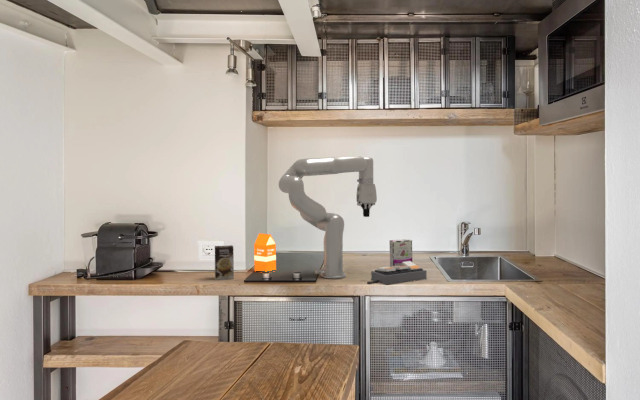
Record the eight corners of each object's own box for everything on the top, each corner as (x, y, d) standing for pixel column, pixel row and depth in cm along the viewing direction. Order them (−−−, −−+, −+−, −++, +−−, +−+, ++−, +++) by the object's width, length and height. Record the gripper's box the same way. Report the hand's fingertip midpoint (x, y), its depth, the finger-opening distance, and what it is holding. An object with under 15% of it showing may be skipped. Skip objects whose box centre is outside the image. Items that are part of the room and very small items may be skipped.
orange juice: (266, 273, 233) (265, 235, 232) (254, 271, 238) (253, 234, 237) (276, 270, 239) (275, 233, 238) (264, 268, 244) (263, 232, 243)
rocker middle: (399, 269, 211) (399, 266, 211) (389, 269, 218) (389, 266, 218) (408, 268, 213) (408, 265, 213) (398, 268, 220) (397, 265, 220)
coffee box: (215, 280, 218) (214, 247, 217) (214, 277, 224) (214, 245, 223) (234, 279, 220) (233, 246, 220) (233, 276, 227) (232, 244, 226)
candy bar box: (408, 269, 239) (408, 238, 238) (412, 271, 234) (412, 240, 233) (389, 270, 236) (389, 239, 235) (393, 272, 231) (393, 241, 230)
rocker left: (387, 271, 207) (386, 268, 207) (377, 270, 214) (376, 267, 214) (395, 270, 209) (395, 267, 209) (385, 269, 216) (385, 266, 217)
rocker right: (412, 271, 214) (412, 268, 214) (402, 264, 221) (402, 261, 221) (420, 270, 217) (420, 267, 216) (410, 263, 223) (410, 260, 223)
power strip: (374, 286, 202) (374, 276, 201) (360, 281, 212) (359, 271, 212) (426, 278, 216) (426, 269, 216) (410, 274, 226) (410, 264, 226)
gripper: (357, 181, 224) (358, 217, 225) (382, 181, 231) (382, 216, 232) (350, 181, 231) (350, 216, 231) (373, 181, 238) (374, 215, 238)
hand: (366, 216), depth 232 cm, fingers closed
